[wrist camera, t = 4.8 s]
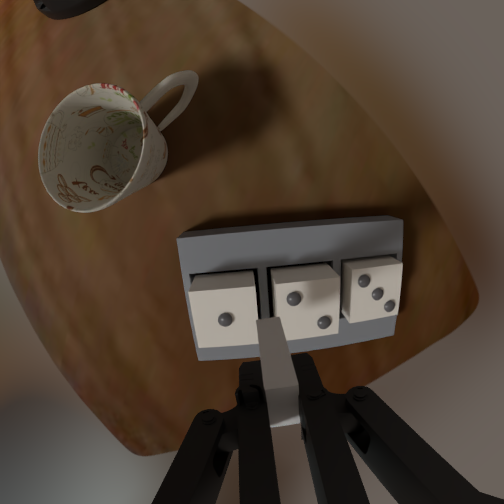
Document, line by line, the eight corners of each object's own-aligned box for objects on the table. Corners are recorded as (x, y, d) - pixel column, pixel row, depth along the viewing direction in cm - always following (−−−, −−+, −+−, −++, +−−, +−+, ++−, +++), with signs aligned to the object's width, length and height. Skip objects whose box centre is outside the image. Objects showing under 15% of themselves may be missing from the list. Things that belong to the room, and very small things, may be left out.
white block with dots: (337, 257, 26) (353, 270, 22) (383, 252, 26) (403, 264, 22) (336, 305, 27) (350, 324, 23) (380, 298, 27) (398, 315, 24)
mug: (85, 161, 24) (21, 159, 14) (172, 65, 22) (141, 15, 12) (138, 218, 25) (87, 240, 16) (233, 119, 24) (230, 84, 14)
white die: (270, 268, 25) (275, 285, 21) (326, 262, 25) (341, 277, 21) (273, 319, 26) (279, 342, 22) (326, 313, 26) (339, 334, 22)
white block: (195, 275, 25) (187, 292, 21) (252, 270, 25) (255, 287, 21) (203, 325, 26) (198, 349, 22) (257, 321, 26) (260, 344, 22)
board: (183, 231, 26) (176, 238, 23) (388, 215, 26) (403, 219, 23) (201, 344, 29) (198, 360, 26) (382, 322, 29) (393, 334, 26)
